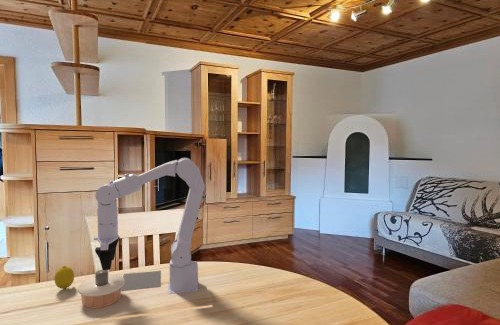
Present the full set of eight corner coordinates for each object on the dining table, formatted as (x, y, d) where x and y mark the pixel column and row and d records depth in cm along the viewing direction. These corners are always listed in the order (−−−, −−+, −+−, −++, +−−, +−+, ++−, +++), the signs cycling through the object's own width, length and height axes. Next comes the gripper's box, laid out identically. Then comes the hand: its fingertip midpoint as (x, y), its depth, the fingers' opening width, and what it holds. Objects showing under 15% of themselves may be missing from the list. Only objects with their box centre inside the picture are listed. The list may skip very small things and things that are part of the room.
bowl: (122, 289, 103) (122, 276, 102) (118, 306, 92) (118, 292, 92) (86, 293, 100) (86, 279, 100) (78, 311, 90) (77, 296, 89)
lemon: (65, 294, 99) (64, 270, 98) (50, 292, 100) (50, 268, 99) (78, 286, 104) (77, 263, 104) (64, 284, 105) (63, 261, 105)
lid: (125, 274, 104) (125, 261, 104) (123, 292, 92) (123, 278, 91) (82, 279, 100) (82, 266, 100) (73, 299, 88) (73, 284, 87)
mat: (160, 272, 117) (160, 270, 117) (160, 288, 104) (160, 286, 104) (123, 275, 113) (123, 274, 113) (119, 292, 101) (119, 291, 101)
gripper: (98, 217, 103) (99, 257, 104) (88, 230, 89) (89, 275, 90) (121, 216, 105) (121, 255, 106) (115, 228, 91) (115, 273, 92)
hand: (108, 264), depth 98 cm, fingers open, 7 cm apart
